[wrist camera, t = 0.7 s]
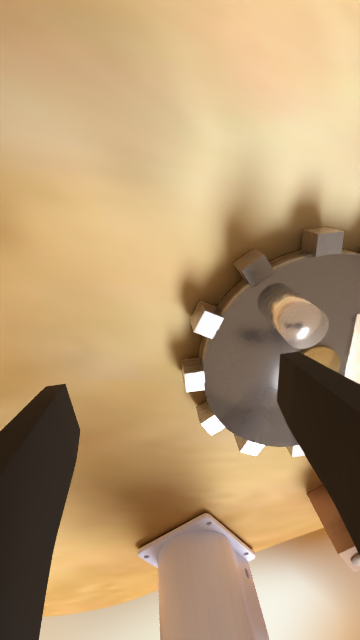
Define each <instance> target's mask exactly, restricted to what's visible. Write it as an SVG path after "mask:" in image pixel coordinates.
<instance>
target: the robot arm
mask: <svg viewBox="0 0 360 640" xmlns="http://www.w3.org/2000/svg"><path fill="white" fill-rule="evenodd" d="M277 403H278V405H279V407H280V410H281V412H282V414H283V417H284V419H285V421H286V423H287V425H288V427H289V429H290V431H291V433H292V434H293V436H294V438H295V439H296V441H297V443H298V444H299V446H300V448H301V449H302V451H303V452H304V454H305V456H306V457H307V459H308V461H309V462H310V464H311V466H312V467H313V469H314V470H315V472H316V474H317V475H318V477H319V479H320V480H321V482H322V483H323V485H324V487H325V488H326V490H327V492H328V494H329V495H330V497H331V499H332V501H333V502H334V504H335V506H336V508H337V510H338V512H339V514H340V516H341V518H342V520H343V522H344V524H345V526H346V528H347V530H348V532H349V534H350V536H351V539H352V541H353V543H354V545H355V547H356V549H357V551H358V553H359V555H360V384H359V383H357V382H355V381H353V380H351V379H349V378H347V377H345V376H343V375H341V374H339V373H338V372H336V371H334V370H332V369H330V368H328V367H326V366H325V365H323V364H321V363H319V362H317V361H315V360H313V359H312V358H310V357H308V356H306V355H304V354H302V353H299V352H291V353H284V354H280V363H279V377H278V390H277ZM79 436H80V428H79V425H78V422H77V419H76V416H75V413H74V410H73V406H72V403H71V400H70V397H69V394H68V391H67V388H66V384H61V385H54V386H47V387H45V388H44V389H43V390H42V391H41V392H40V393H39V394H38V395H37V396H36V397H35V398H34V399H33V400H32V401H31V402H30V403H29V404H28V405H27V406H26V407H25V408H24V409H23V410H22V411H21V412H20V413H19V414H18V415H17V416H16V417H15V418H14V419H13V420H12V421H11V422H10V423H8V424H7V425H6V426H5V427H4V428H3V429H2V430H1V431H0V640H39V634H40V628H41V621H42V614H43V608H44V601H45V595H46V589H47V583H48V577H49V571H50V566H51V560H52V554H53V550H54V545H55V541H56V536H57V532H58V529H59V525H60V521H61V517H62V514H63V510H64V506H65V502H66V498H67V495H68V491H69V487H70V483H71V479H72V475H73V471H74V468H75V463H76V459H77V452H78V444H79ZM138 556H139V557H140V558H142V559H144V560H145V561H147V562H148V563H150V564H152V565H153V566H155V567H157V568H158V589H159V614H160V638H161V640H269V637H268V633H267V629H266V625H265V622H264V618H263V615H262V611H261V607H260V604H259V600H258V597H257V593H256V589H255V586H254V582H253V578H252V575H251V571H250V568H249V564H248V562H249V561H251V560H253V559H254V558H255V553H254V551H252V550H251V549H250V548H249V547H248V546H247V545H245V544H244V543H243V542H242V541H241V540H239V539H238V538H237V537H236V536H235V535H234V534H232V533H231V532H230V531H229V530H228V529H226V528H225V527H224V526H223V525H222V524H221V523H219V522H218V521H217V520H216V519H215V518H213V517H212V516H211V515H210V514H208V513H204V514H202V515H200V516H198V517H196V518H194V519H193V520H191V521H189V522H187V523H185V524H183V525H182V526H180V527H178V528H176V529H174V530H172V531H171V532H169V533H167V534H165V535H163V536H161V537H160V538H158V539H156V540H154V541H152V542H150V543H149V544H147V545H145V546H143V547H141V548H140V549H138Z"/></svg>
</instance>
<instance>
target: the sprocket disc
mask: <svg viewBox="0 0 360 640" xmlns="http://www.w3.org/2000/svg"><path fill="white" fill-rule="evenodd" d="M344 233H345V231H341V230H337V229H333V228H329V227H322V228H312V229H303V234H302V244H301V250H299V251H295V252H292V253H289V254H286V255H282V256H280V257H278V258H276V259H273V260H271V261H268V259H267V258H266V256H265V254H263V253H261V252H260V251H258V250H256V249H255V248H254V249H252V250H251V251H249V252H248V253H247V254H245V255H244V256H242V257H241V258H239V259H238V260H236V261H235V262H234V263H233V264H234V265H235V267H236V268H237V270H238V272H239V273H240V275H241V276H242V278H243V279H242V280H240V281H239V282H238V283H237V284H236V285H235V286H234V287H233V288H232V289H231V290H230V291H229V292H228V293H227V294H226V295H225V297H224V298H223V299H222V300H221V302H220V303H219V304H218V306H217V307H216V306H213V305H211V304H208V303H206V302H204V301H201V300H200V301H199V303H198V305H197V307H196V309H195V310H194V312H193V314H192V316H191V318H190V323H191V326H192V329H193V331H194V332H195V333H197V334H200V335H203V336H202V340H201V344H200V350H199V357H196V358H188V359H181V362H182V372H183V380H184V385H185V389H186V393H187V392H194V391H201V390H204V392H205V395H206V398H207V401H205V402H204V403H202V404H201V405H199V406H197V407H196V408H197V412H198V417H199V421H200V424H201V425H202V426H203V427H204V428H205V429H206V431H207V432H208V433H209V434H210V435H211V436H212V435H213V434H215V433H217V432H218V431H220V430H222V429H223V428H225V427H226V428H227V429H228V430H230V431H231V432H232V433H234V436H235V439H236V442H237V445H238V447H239V450H240V452H242V453H246V454H250V455H254V456H257V455H258V453H259V452H260V451H261V449H262V448H263V447H264V445H266V446H276V447H287V449H288V451H289V453H290V455H291V456H292V457H297V456H303V455H305V454H304V452H303V451H302V449H301V448H300V446H299V444H298V443H297V441H296V439H295V438H294V436H293V434H292V433H291V431H290V429H289V427H288V425H287V423H286V421H285V419H284V417H283V414H282V412H281V410H280V407H279V405H278V403H277V390H278V377H279V363H280V354H284V353H291V352H299V353H302V354H304V355H306V356H308V357H310V358H312V359H313V360H315V361H317V362H319V363H321V364H323V365H325V366H326V367H328V368H330V369H332V370H334V371H336V372H338V373H339V374H341V375H343V376H345V377H347V378H349V379H351V380H353V381H355V382H357V383H359V384H360V252H359V253H356V252H353V251H349V250H345V249H342V246H343V239H344Z"/></svg>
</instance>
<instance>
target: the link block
mask: <svg viewBox="0 0 360 640" xmlns="http://www.w3.org/2000/svg"><path fill="white" fill-rule="evenodd" d="M307 495H308V497H309V499H310V501H311V503H312V505H313V507H314V509H315V511H316V512H317V514H318V516H319V518H320V520H321V522H322V524H323V526H324V528H325V529H326V532H327V534H328V535H329V537H330V539H331V541H332V543H333V545H334V547H335V549H336V551H337V553H338V554H339V555H340V556H341V558H342V559H343V560H344V561H345V562H346V563H347V564H348V566H349V567H350V568H351V569H352V570H353V571H354V572H355V573H356V572H358V571H360V555H359V553H358V551H357V549H356V547H355V545H354V543H353V541H352V539H351V536H350V534H349V532H348V530H347V528H346V526H345V524H344V522H343V520H342V518H341V516H340V514H339V512H338V510H337V508H336V506H335V504H334V502H333V501H332V499H331V497H330V495H329V494H328V492H327V490H326V488H325V487H324V485H323V486H321V487H319V488H317V489H315V490H313V491H311V492H309V493H307Z"/></svg>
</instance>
